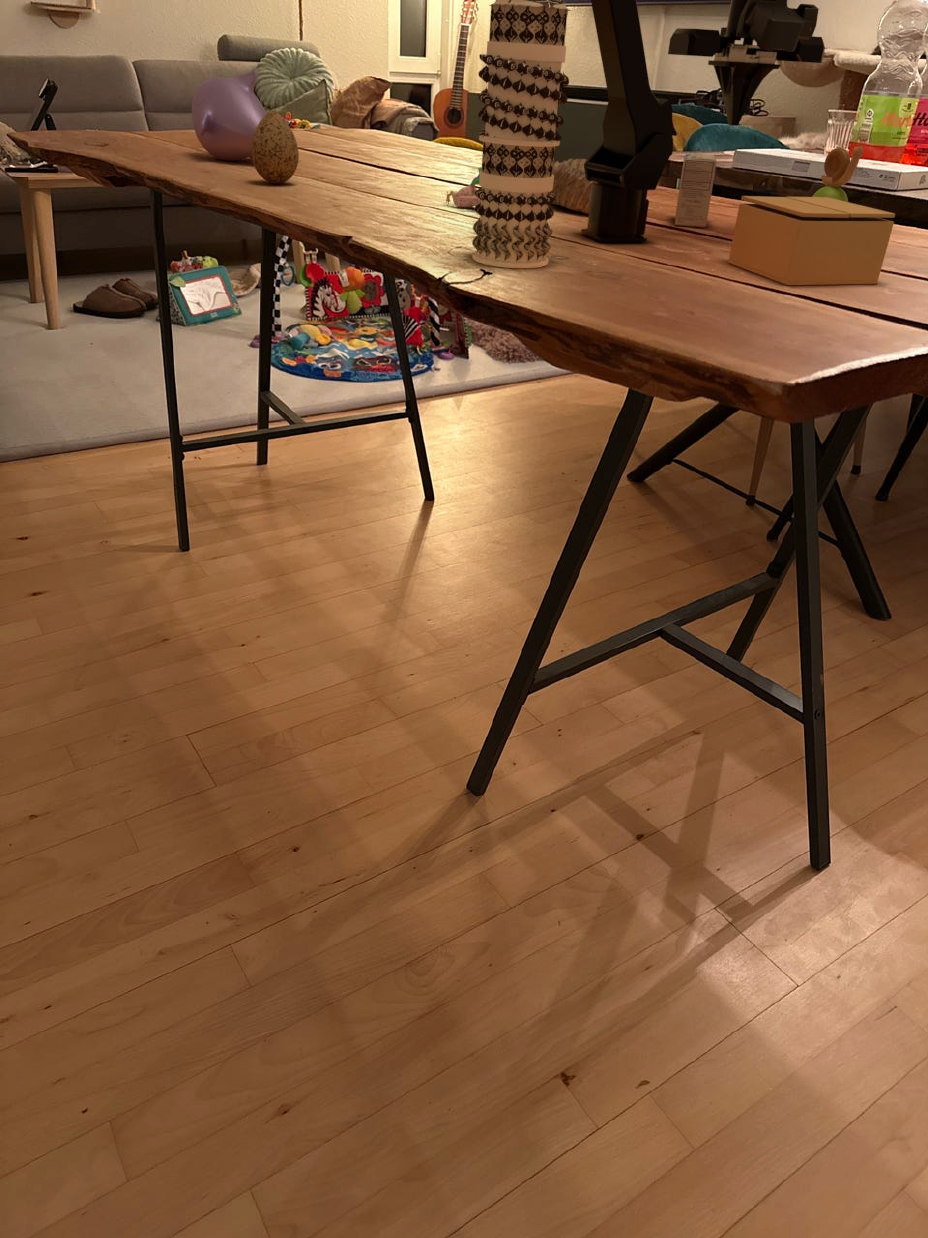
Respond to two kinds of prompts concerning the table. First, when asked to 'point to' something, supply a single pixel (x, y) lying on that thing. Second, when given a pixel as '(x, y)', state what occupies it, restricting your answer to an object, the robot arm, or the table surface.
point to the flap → (795, 207)
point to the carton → (812, 243)
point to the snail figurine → (839, 172)
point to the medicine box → (695, 190)
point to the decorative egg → (274, 149)
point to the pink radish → (466, 194)
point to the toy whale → (227, 115)
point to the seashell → (571, 185)
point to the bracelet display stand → (520, 131)
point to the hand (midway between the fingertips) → (733, 125)
